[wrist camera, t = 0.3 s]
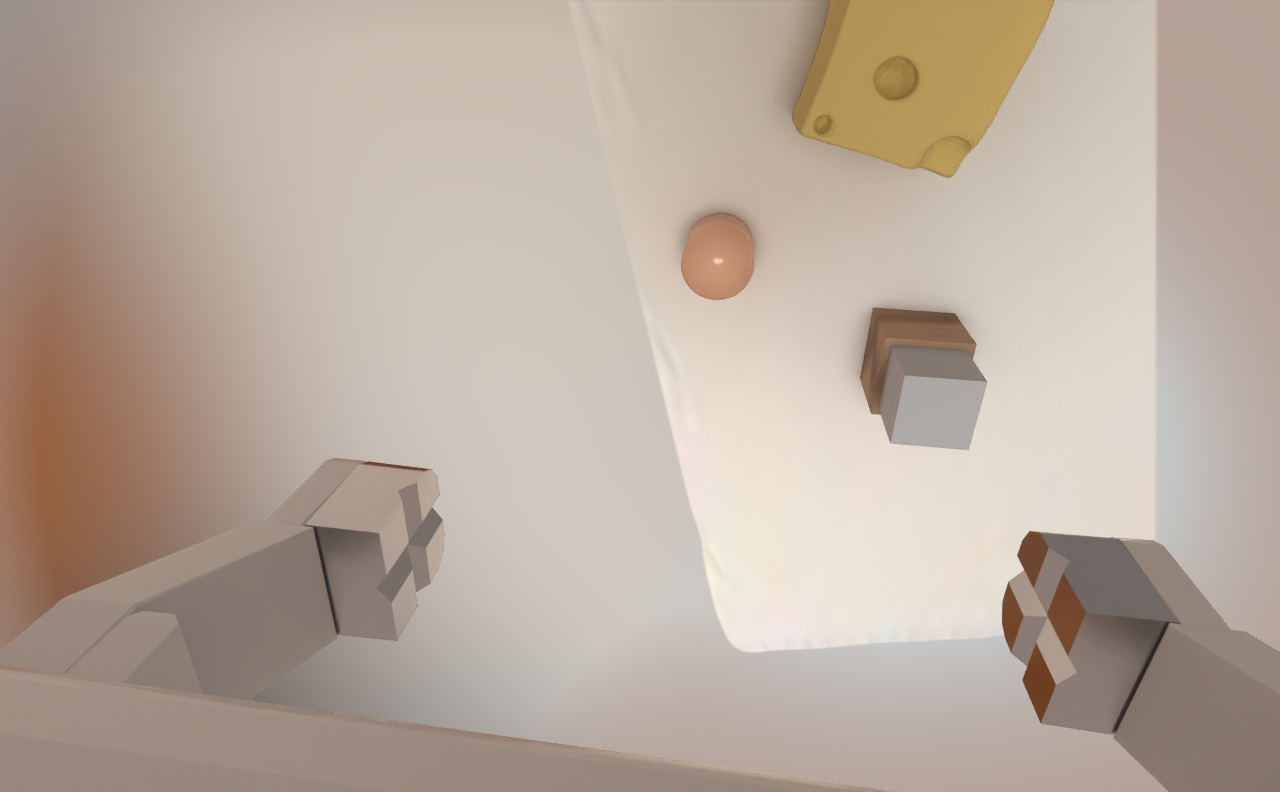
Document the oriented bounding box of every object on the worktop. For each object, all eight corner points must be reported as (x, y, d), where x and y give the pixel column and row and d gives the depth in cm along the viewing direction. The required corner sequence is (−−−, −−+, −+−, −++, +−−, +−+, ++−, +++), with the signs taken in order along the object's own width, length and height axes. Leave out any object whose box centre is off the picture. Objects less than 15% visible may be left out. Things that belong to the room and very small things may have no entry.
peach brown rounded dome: (688, 211, 54) (683, 227, 50) (756, 215, 53) (757, 232, 49) (685, 275, 56) (679, 297, 52) (749, 280, 56) (749, 302, 51)
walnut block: (873, 307, 55) (886, 337, 50) (954, 313, 55) (976, 344, 50) (860, 378, 58) (871, 413, 53) (937, 384, 58) (956, 420, 52)
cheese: (928, 165, 50) (965, 195, 42) (780, 117, 50) (787, 137, 41) (1004, 1, 46) (1066, -5, 37) (841, -53, 45) (863, -71, 37)
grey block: (891, 344, 50) (904, 375, 46) (966, 350, 50) (987, 381, 45) (878, 408, 53) (890, 443, 48) (950, 413, 52) (968, 450, 48)
